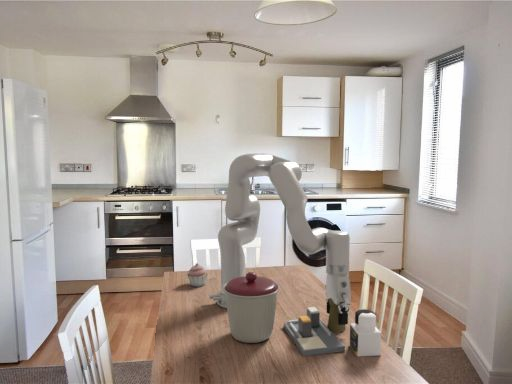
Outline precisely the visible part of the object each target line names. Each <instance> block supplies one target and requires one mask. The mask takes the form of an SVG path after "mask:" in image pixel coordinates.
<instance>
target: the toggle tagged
mask: <svg viewBox="0 0 512 384" xmlns="http://www.w3.org/2000/svg"><path fill="white" fill-rule="evenodd" d="M297 320H298V332H299V333H300V334H301V336H302V337H307V336H312V322H311V320H310V318H309V317H308V316H307V315H299V316H298V319H297Z"/></svg>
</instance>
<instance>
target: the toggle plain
mask: <svg viewBox="0 0 512 384" xmlns="http://www.w3.org/2000/svg"><path fill="white" fill-rule="evenodd" d="M306 316H308V317H309V318H310V320H311V322H312V327H316V326H319V319H320V311H319V310H318V309H317V308H316V307H315V306H312V307H311V306H310V307H307V308H306ZM320 320H321V319H320Z"/></svg>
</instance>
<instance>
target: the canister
mask: <svg viewBox="0 0 512 384" xmlns="http://www.w3.org/2000/svg"><path fill="white" fill-rule="evenodd" d="M223 290H224V292H225V295H226V304H227V308H226V309H227V311H226V312H227V318H228V326H229V330H230V333H231V335H232V337H233V338H234V339H235V340H237V341H239V342H242V343H246V344H256V343H261V342H264V341H266V340H268V339H269V337H270V336H271V334H272V333H273V329H274V324H275V317H276V309H277V299H278V292H279V291H280V285H279V284H278V283H277V282H276V281H274V280H272V279H271V278H268V277H264V276H261V275H260V276H259V275H257V273H255V272H253V271H249V272H247V273H245V276H244V277H238V278H235V279H232V280H230V281H229V282H227V283H226V284H224V286H223Z"/></svg>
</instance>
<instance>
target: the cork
mask: <svg viewBox="0 0 512 384" xmlns="http://www.w3.org/2000/svg"><path fill="white" fill-rule="evenodd" d="M340 303H344V302H340ZM329 304H330V313H329V314H328V321H327V325H326V326H327V327H328V328H329V330H330V331H331V332H332V333H342V332H345V331H346V324H345V325H339V324H338V313H340V312H339V308H338V305H336V304H335V303H333V300H332V299H331V298H330V299H329ZM343 307H344V306H341V308H343Z"/></svg>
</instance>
